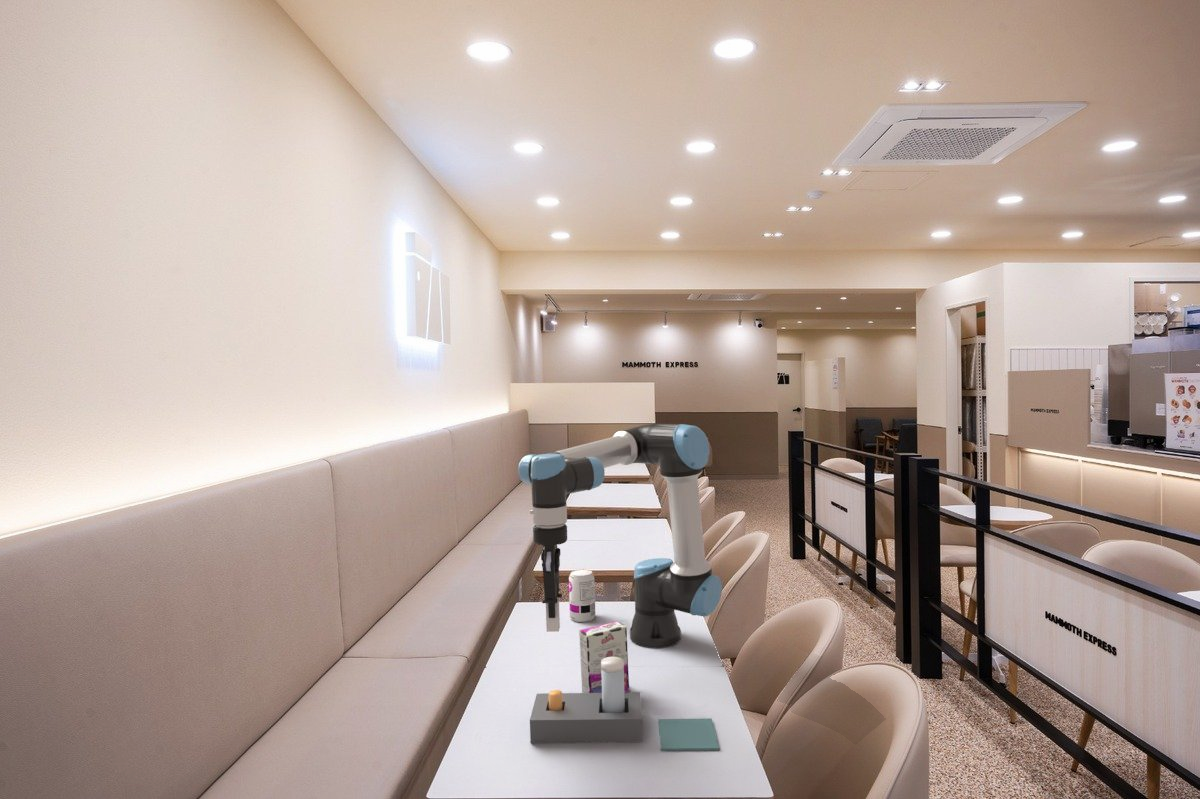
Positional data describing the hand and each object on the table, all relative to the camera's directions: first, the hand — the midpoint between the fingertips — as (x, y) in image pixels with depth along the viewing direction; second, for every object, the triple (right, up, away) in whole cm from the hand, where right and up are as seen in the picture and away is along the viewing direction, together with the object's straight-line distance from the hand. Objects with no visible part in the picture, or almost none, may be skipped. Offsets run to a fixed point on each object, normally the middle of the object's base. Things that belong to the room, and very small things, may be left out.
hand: (553, 629), depth 150 cm
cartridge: (+14, -22, 0) cm, 26 cm away
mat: (+29, -22, -4) cm, 37 cm away
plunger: (+1, -20, +1) cm, 20 cm away
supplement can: (+5, -20, +68) cm, 71 cm away
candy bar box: (+12, -22, +17) cm, 30 cm away
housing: (+8, -22, +1) cm, 23 cm away
